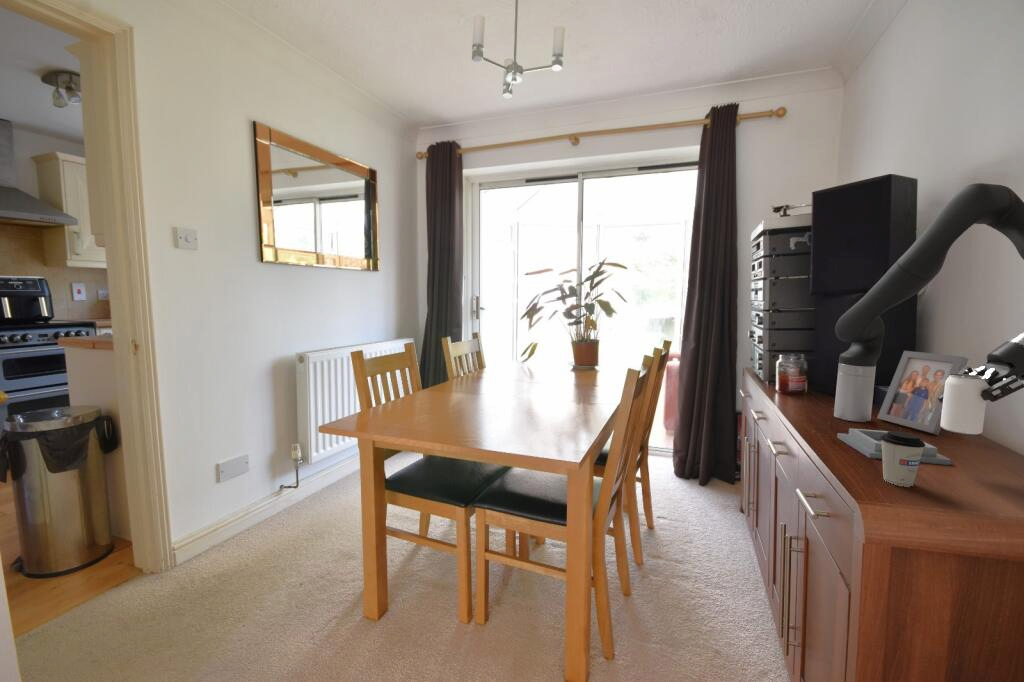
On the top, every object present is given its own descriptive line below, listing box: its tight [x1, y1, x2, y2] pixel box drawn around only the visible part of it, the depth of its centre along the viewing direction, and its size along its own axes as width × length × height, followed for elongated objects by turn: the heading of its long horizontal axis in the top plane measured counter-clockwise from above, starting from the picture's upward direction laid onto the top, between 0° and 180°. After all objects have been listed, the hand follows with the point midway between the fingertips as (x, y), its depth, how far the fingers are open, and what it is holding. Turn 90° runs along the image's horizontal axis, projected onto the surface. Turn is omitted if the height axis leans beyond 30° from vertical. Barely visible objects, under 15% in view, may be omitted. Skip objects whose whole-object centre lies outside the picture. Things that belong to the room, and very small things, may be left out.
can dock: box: [836, 427, 952, 466], centre depth 111 cm, size 16×16×3 cm
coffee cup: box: [880, 430, 925, 488], centre depth 91 cm, size 7×7×10 cm
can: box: [939, 373, 988, 436], centre depth 96 cm, size 6×6×12 cm
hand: (950, 405), depth 97 cm, fingers closed on can, 4 cm apart
